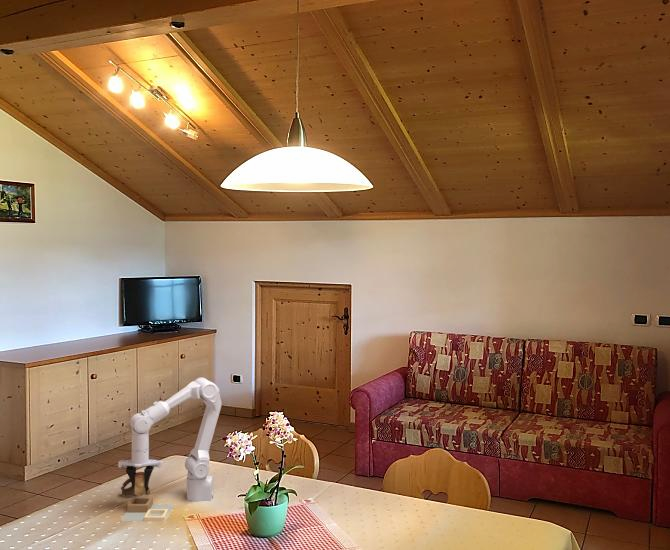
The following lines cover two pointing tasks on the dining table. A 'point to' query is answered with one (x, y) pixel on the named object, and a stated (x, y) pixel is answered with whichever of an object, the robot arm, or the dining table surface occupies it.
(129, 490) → the brown curved piece
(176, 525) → the dining table surface
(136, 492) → the pin
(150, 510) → the mount
